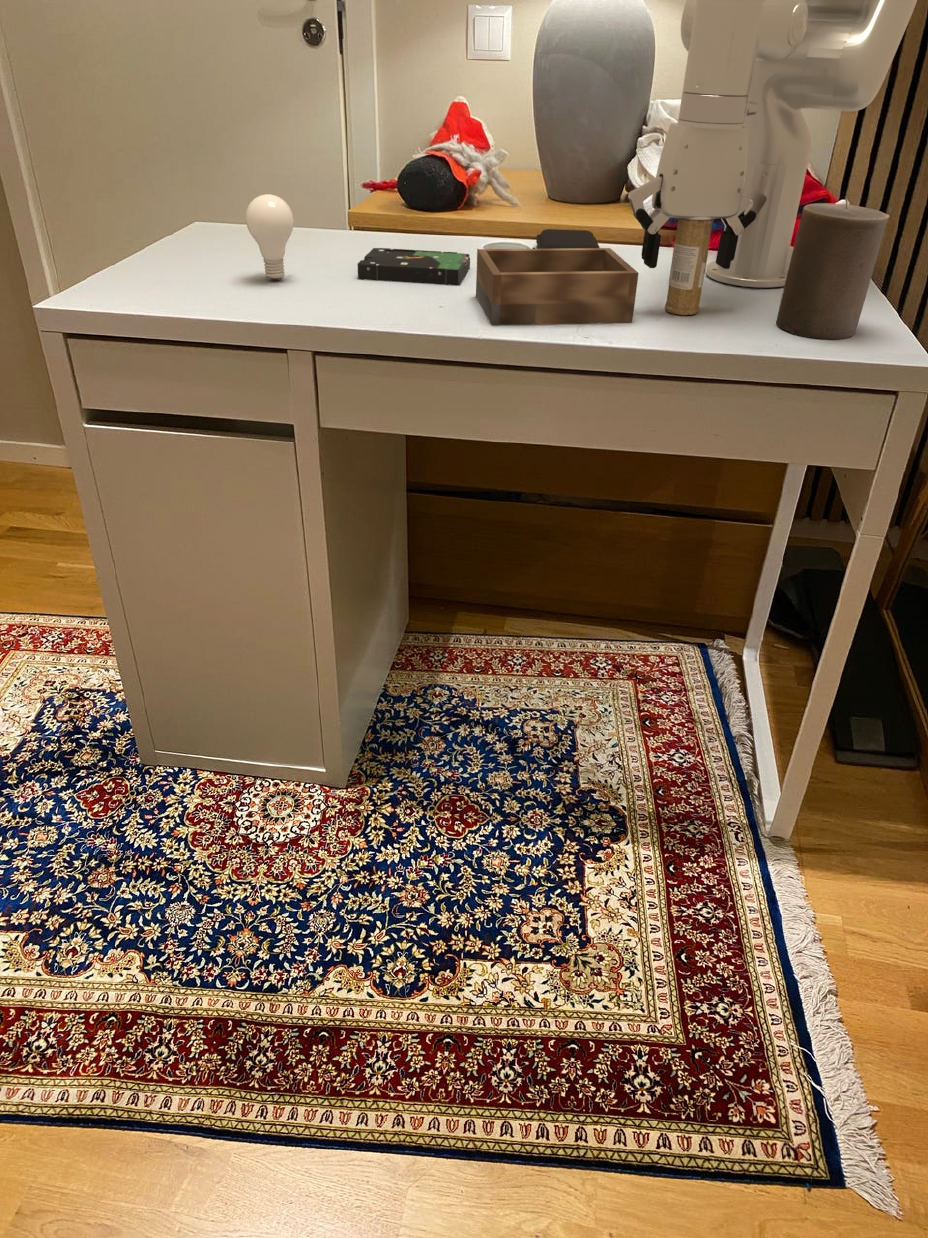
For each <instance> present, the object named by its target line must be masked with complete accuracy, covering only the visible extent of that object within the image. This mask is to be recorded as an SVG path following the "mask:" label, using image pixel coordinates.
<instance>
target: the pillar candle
mask: <svg viewBox="0 0 928 1238" xmlns="http://www.w3.org/2000/svg"><path fill="white" fill-rule="evenodd" d="M889 219H890V215H889V214H887V213H885V212H882V210H881V211H880V210H878V209H877V210H876V209H874V208H868V207H864V206H859V205H851V204H849V203H848V198H845V204H844V203H827V202H825V203H823V202H822V203H820V202H818V203H809V204H806V205H805V206H803V209H802V212H801V216H800V220H799V224H798V227H797V232H796V236H795V241H794V245H793V247H794V249H793V252H792V256H791V261H790V265H789V270H788V274H787V277H786V281H785V286H783V292H782V295H781V299H780V304H779V308H778V313H777V319H776V321H775V322H776V326H778V327H779V328H780V329H782V330H785V331H787V332H788V333H791V334H794V335H796V336H799V337H805V338H812V339H818V340H819V339H821V340H840V339H843V340H844V339H847V338H851V337H853V336H854V335H855V334H856V331H857V330H858V326H859V322H860V319H861V314H862V312H863V308H864V305H865V301H866V297H867V294H868V290H869V286H870V283H871V279H872V276H873V273H874V270H875V266H876V262H877V258H878V256H879V251H880V249H881V245H882V241H883V237H884V234H885V230H886V226H887V223H888V220H889Z"/></svg>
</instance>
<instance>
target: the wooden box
mask: <svg viewBox="0 0 928 1238" xmlns="http://www.w3.org/2000/svg"><path fill="white" fill-rule="evenodd" d="M475 275H476V280H475V281H476V283H475V298H476V299H477V301H478V302H479V304H480V307H481V308H482V310H483V312H484V315H485V316H486V317H487V320H488V322H489V324H490V325H491V326H512V325H515V326H517V325H518V326H519V325H520V326H521V325H522V326H523V325H524V326H525V325H527V326H528V325H566V324H567V325H569V324H572V325H574V324H575V325H576V324H618V323H621V324H622V323H623V324H626V323H633V319H634V314H635V313H634V311H635V304H636V296H637V288H638V280H639V272H638V271H637V270H636V269H635V268H633V266H631V265H630V264H629V263H628V262H627V261H625V259H623V258H622V257H621V256H619V254H617V253H616V252H615V251H614V249H612V248H610V247H600V248H561V249H537V248H535V249H532V248H477V252H476V274H475Z"/></svg>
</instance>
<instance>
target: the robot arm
mask: <svg viewBox="0 0 928 1238" xmlns="http://www.w3.org/2000/svg"><path fill="white" fill-rule="evenodd" d="M917 1H918V0H685V4H684V7H683V11H682V15H681V21H680V37H681V41H682V45H683V47H684V48H685V50H686V52H687V59H686V66H685V72H684V80H683V86H682V93H681V101H680V106H679V113H678V118H677V119H678V120H677V122H671V123H670V124H669V127H668V130H667V133H666V136H665V139H664V142H663V146H662V150H661V153H660V158H659V162H658V166H657V171H656V174H655V177H654V178H653V179H652V180H649V181H648V182H646V183H644V184H642V185H640V186H637V187H636V188H634V189H633V190H630V191H629V192H628V196H627V198H628V201H629V204H630V207H631V209H632V214H633V216H634V218H635V220H636V221H637V222H638V224H640V225H641V227H642V229H643V230H644V233H643V234H644V235H643V240H642V248H641V259H642V260H643V265H645V266H646V267H648V268H649V269H655V268H657V265H658V262H659V261H658V258H659V254H660V253H659V252H660V247H661V239H662V235H661V234H659V231H660V230H661V228H662V227H663V226H664V225H665V224H666V222H668V220H669V219H670V218H674V219H678V218H695V217H709V218H711V219H714V220H718V219H719V220H721V222H722V224H723V225H724V229H723V230H722V231H721V233H720V238H719V241H718V246H717V247H718V248H717V253H716V257H715V261H712V262H711V261H710V263H708V264H706V269H705V275H707V276H708V277H709V278H710V279H713V280H714V281H718V282H719V283H724V284H727V285H728V284H729V285H732V286H739V287H744V288H745V287H746V288H761V289H762V288H763V289H765V288H766V289H767V288H780V287H784V286H785V281H786V277H787V274H788V270H789V265H790V261H791V256H792V252H793V249H794V246H792V245H791V243H792V238H793V234H794V229H795V224H796V220H797V215H798V210H799V206H800V201H801V198H802V192H803V189H804V183H805V177H806V175H807V170H808V165H809V160H810V157H811V151H812V139H811V134H810V129H809V127H808V125H807V123H806V120H805V118H804V115H803V113H802V110H801V109H803V110H804V109H807V110H808V109H813V110H825V111H826V110H827V111H835V112H838V111H839V112H855V111H856V112H857V111H860V110H863V109H865V108H866V107H868V106H869V105H870V104H871V103H872V102H873V101H874V99H876V96H877V95H878V93H879V92H880V89H881V88H882V85H883V83H884V81H885V79H886V77H887V74H888V71H889V69H890V68H891V65H892V62H893V60H894V57H895V56H896V53H897V51H898V48H899V45H900V44H901V41H902V39H903V36H904V34H905V31H906V29H907V27H908V24H909V22H910V20H911V18H912V15H913V13H914V10H915V7H916V4H917ZM650 196H652V197H651V207H652V208H653V210H652V211H651V212H650V214H649V213H648V212H647V211H646V209H645V204H644V201H645V200H646V199H647V198H648V197H650Z"/></svg>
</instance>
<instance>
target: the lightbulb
mask: <svg viewBox="0 0 928 1238" xmlns="http://www.w3.org/2000/svg"><path fill="white" fill-rule="evenodd" d="M245 224H246V228H247V229H248V232H249V233H250V235H251V237H252V239H254V241H255V242H256V243H257V245H258V248H259V252H260V255H261V256H262V258H263V263H264V265H263V266H264V272H265V273H264V276H265V277H267V278H268V279H270V280H271V281H274V282H277V281H280V280H281V279H282V278H284V277H285V268H284V267H285V265H284V261H285V259H284V257H285V254H286V246H287V243H288V241H289V240H290V239H289V238H290V237H291V235H292V232H293V230H294V224H295V220H294V214H293V212H292V209H291V207H290V206H289V204H288V203H287V202H286V201H285V200H284V199H283V198H282V197H279V196H278V195H274V194H270V193H267V194H266V193H265V194H260V195H258V196H256V197H255V198H254V199H252V200H251V202H250V203H249V204H248V206H247V208H246V211H245Z"/></svg>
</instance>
